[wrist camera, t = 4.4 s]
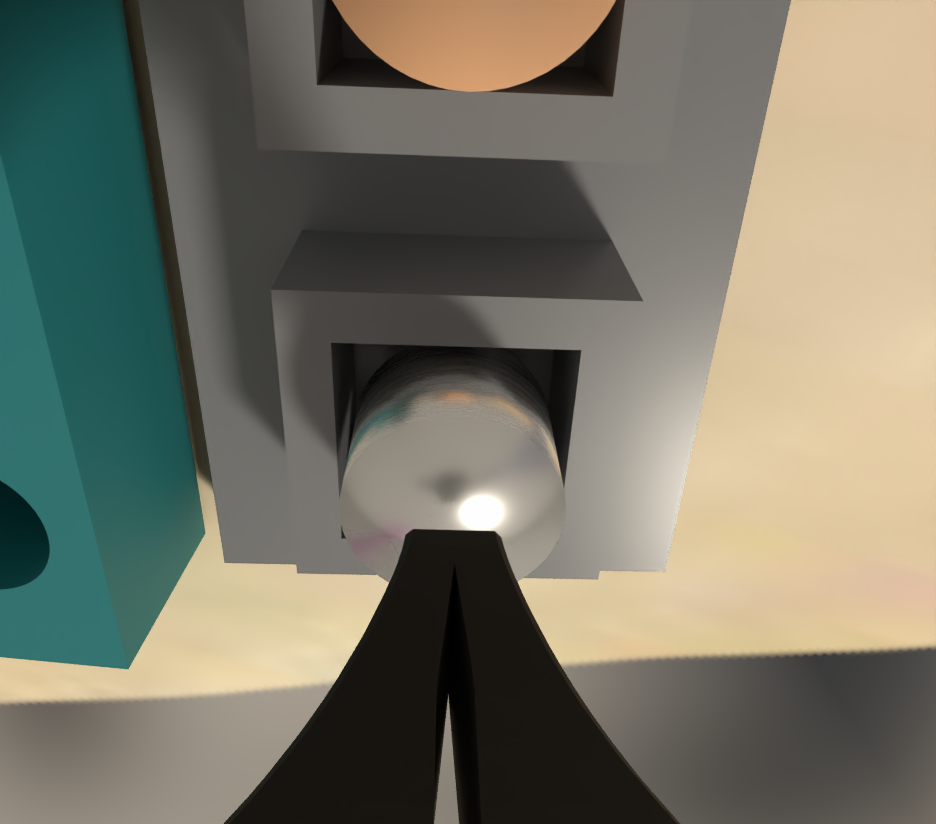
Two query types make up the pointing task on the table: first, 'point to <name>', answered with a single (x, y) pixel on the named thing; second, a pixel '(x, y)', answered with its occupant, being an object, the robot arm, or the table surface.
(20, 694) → the table surface
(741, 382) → the table surface
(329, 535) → the control panel
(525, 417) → the knob
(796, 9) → the table surface
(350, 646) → the table surface
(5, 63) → the teal l-shaped bracket
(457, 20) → the middle knob
